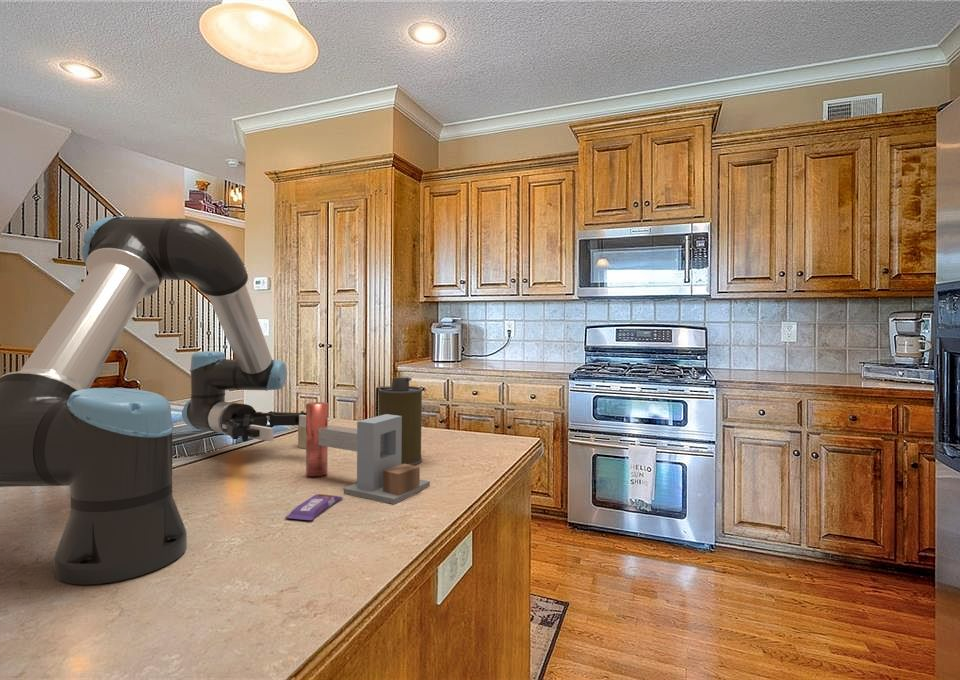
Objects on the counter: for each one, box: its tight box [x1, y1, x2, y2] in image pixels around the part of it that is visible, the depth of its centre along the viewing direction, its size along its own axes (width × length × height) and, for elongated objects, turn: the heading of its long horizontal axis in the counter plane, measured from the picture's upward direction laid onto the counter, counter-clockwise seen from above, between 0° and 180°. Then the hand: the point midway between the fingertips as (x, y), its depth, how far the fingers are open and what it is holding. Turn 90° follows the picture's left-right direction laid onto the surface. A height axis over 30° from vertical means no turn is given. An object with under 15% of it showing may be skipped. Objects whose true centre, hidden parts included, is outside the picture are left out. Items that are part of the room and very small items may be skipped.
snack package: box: [284, 493, 344, 521], centre depth 92 cm, size 12×2×5 cm
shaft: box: [305, 401, 385, 477], centre depth 108 cm, size 4×19×15 cm, turn 63°
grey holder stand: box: [343, 414, 431, 505], centre depth 102 cm, size 12×12×14 cm
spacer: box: [383, 464, 421, 495], centre depth 100 cm, size 6×4×4 cm
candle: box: [297, 407, 306, 450], centre depth 136 cm, size 6×6×10 cm
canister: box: [375, 376, 423, 466], centre depth 123 cm, size 11×10×20 cm
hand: (297, 428), depth 114 cm, fingers open, 13 cm apart
